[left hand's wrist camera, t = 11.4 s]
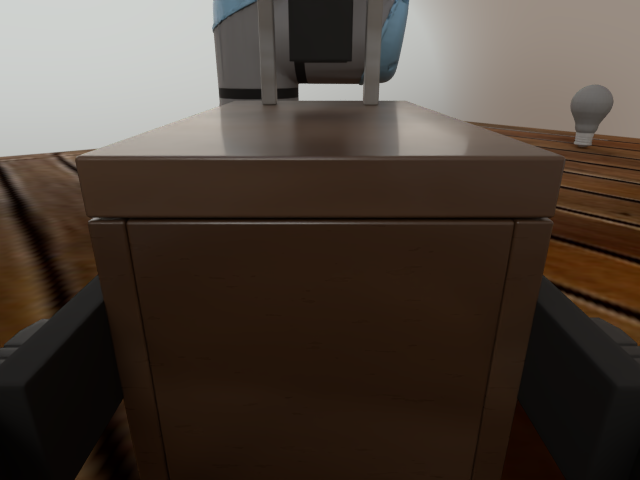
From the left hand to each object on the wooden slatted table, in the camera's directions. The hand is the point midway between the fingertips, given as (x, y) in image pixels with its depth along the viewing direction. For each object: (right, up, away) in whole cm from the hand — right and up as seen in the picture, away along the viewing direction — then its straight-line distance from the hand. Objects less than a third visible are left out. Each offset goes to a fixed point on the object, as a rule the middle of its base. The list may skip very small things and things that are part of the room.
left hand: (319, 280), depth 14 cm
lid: (0, +5, +3) cm, 6 cm away
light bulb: (+45, +17, +61) cm, 78 cm away
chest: (0, -4, +7) cm, 8 cm away
